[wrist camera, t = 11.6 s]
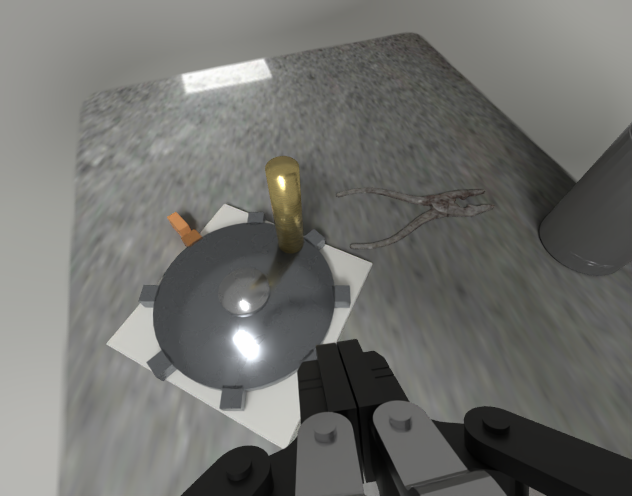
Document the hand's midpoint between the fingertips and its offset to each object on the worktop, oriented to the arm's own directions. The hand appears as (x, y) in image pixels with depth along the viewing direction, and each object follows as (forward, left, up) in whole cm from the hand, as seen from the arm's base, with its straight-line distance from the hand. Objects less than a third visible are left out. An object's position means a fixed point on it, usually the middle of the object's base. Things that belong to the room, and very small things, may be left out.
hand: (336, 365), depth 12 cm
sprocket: (-7, -12, -20) cm, 24 cm away
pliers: (-28, -1, -21) cm, 35 cm away
